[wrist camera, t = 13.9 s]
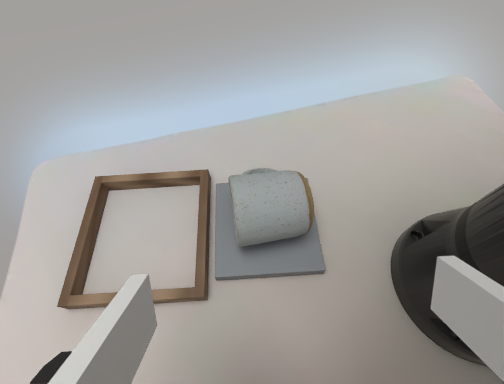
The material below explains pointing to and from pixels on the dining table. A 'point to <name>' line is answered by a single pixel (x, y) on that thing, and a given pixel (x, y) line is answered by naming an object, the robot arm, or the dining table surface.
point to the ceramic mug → (270, 205)
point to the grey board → (261, 249)
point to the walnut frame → (90, 226)
